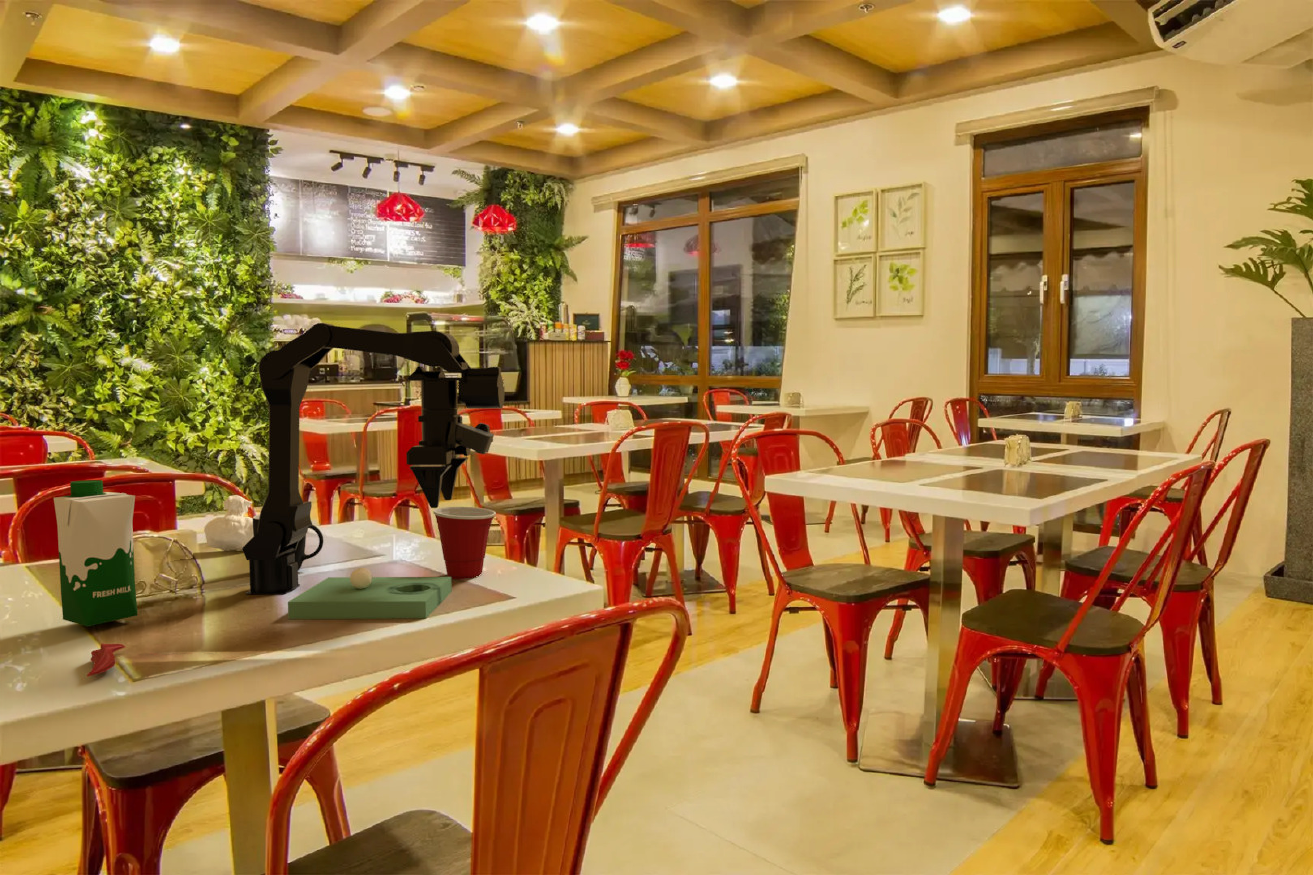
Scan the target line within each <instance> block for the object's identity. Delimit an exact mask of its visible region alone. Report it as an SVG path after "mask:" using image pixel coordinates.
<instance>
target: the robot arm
mask: <svg viewBox="0 0 1313 875" xmlns="http://www.w3.org/2000/svg"><path fill="white" fill-rule="evenodd" d="M333 349H339V350H340V349H341V350H347V351H348V350H349V351H356V352H365V353H375V354H383V355H389V356H395V357H399V358H403V359H404V360H405V359H406V360H408V361H412V362H414V363H418V364H421V365H425V366H428V367H433V368H441V369H442V370H426V369H425V368H424V367H423V366H417V367H416V368H415V370H414V371H413V372H412V373H411V374H410V375H408V376H407V380H408V381H409V382H410V381H411V382H420V400H421V401H420V402H421V403H420V404H421V414H420V415H418V418H417V420H418V423H421V440H419V441H418V444H417V445H415V446H411V448H409V450H408V451H407V452H406V454H405V455H406V465H409V469H410V470H411V471H412V474H413V475H414V477H415V479H416V481H417V482H418V485H419V486H420V489H421V491H422V493H423V494H424V497H425V499H426V501H427V503H428V505H429V507H430V509H437V508H439V504H440V496H441V494H442V496H443V499H444V501H451V500H452V498H453V495H454V490H455V486H456V481H457V477H458V472H459V469H460V467H461V466H462V465H463V464H465V463H466V462H467V461H468V459H469V457H468V456H471V450H472V451H474V452H475V453H478V454H480V455H485V454H487V453H489V451H490V448H491V445H492V443H493V442H494V436H495V435H494V433H492V432H491V430H490V425H489V424H486V423H483V422H479V423H478V424H477V425H475V427H474V426H472V425H468V424H465V423H463V416H461V414H458V413H459V412H458V411H459V410H458V400H459V402H460V403H462V404H463V403H464V404H465V407H466V408H467V409H468V410H471V409H477V410H479V409H481V410H482V409H503V407H504V403H505V386H504V383H503V377H502V376H503V375H502V368H501V367H500V366H489V367H485V368H484V367H479V368H478V367H473V368H472V367H471V365H469V364H468V362H467V361H466V359H465V358H464V357H463V356H462V355H461V353H460V346H459V342H458V341H457V339H456V338H455V336H453V335H451V334H450V333H447V332H442V331H437V330H424V331H423V330H421V331H411V332H400V333H398V332H397V333H395V332H389V331H380V330H370V329H364V328H354V327H353V328H352V327H348V326H347V327H345V326H339V325H338V326H337V325H334V324H330V323H325V322H317V323H316V324H313V325H312V326H311V327H310V328H308V330H306V331H305V332H303V333H302V334H300V335H299V336H297V337H296V338H294V339H292V340H291V341H288V342H287V343H285V344H284V345H283V346H282V347H280V348H279V349H276V350H271V351H268V352H266V354H264V356H262V357H261V358H260V360H259V363H258V373H259V379H260V386H261V390H262V392H263V395H264V396H265V400H266V401H267V403H268V417H269V418H268V490H267V495H266V497H265V500H264V502H263V505H262V507H261V509H260V513H259V515H260V517H259V523H258V528H257V534H256V535H255V536H254V537H253V538H252V539H251V540H250V541H249V542H248V543H247V544H246V545H245V546H244V547H243V548H242V550H243V551H242V552H243V555H244V557H245V559H246V560H247V561H248V562H249V563H248V564H249V567H248V568H249V590H248V591H247V592H245V596H284V595H287V594H289V593H290V592H292V591H294V590H296V589H297V588H300V587H301V586H300V585H301V584H299V570H298V563H297V562H295V553H289V552H291V551H294V550H296V549H297V546H298V543H299V540H301V539H302V538H303V537H304V536H305V535H306V536H307V534H308V530H309V528H308V526H311V525H313V523H312V520H311V511H312V505H313V504H312V501H310V500H309V501H303V498H302V496H301V493H300V489H299V486H300V482H299V479H300V478H299V476H300V467H299V466H300V410H301V404H302V402H303V399H304V396H305V394H306V392H307V390H308V386H309V380H310V374H311V370H312V369H314V368H315V367H317V365H319V364H320V363H321V362H322V361H323V360H324V358H325V357H326V356H327V355H328V354H329V353H330V352H331V351H332V350H333ZM444 371H446V372H448V373H449V374H450V373H451V374H452V373H453V374H460V375H461V377H446V374H445V372H444ZM458 398H459V399H458ZM462 455H463V457H462Z"/></svg>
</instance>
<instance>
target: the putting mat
mask: <svg viewBox="0 0 1313 875" xmlns="http://www.w3.org/2000/svg"><path fill="white" fill-rule="evenodd" d="M451 593H452V578H451V577H448V576H372V581H371V583H370V585H369V586H368V587H366V588H364V589H357V588H355V587H354V586H353V585H352V584H351V582H350V576H347V577H343V576H342V577H341V576H340V577H339V576H335V577H334V576H333V577H330V576H329V577H327V578H325V579H323V580H322V581H320V582H318V583H317V584H316V585H314V586H312V587H310V588H309V589H307V590H305V591H304V592H302V593H299V595H297V596H295V597H293V598H292V599H290V600H289V601H288V602H287V614H288V615H287V617H288V620H313V619H317V620H320V619H321V620H324V619H325V620H326V619H327V620H330V619H331V620H332V619H333V620H338V619H339V620H340V619H341V620H342V619H345V620H346V619H348V620H349V619H351V620H352V619H353V620H354V619H357V620H359V619H360V620H361V619H362V620H364V619H365V620H367V619H371V620H372V619H375V620H377V619H379V620H380V619H381V620H382V619H427V618H428V617H429V616H430V615H431V614H432V613H433V612H434V611H435V610H436V609H437V607H439V606H440V605H441V603H442V602H444V601H445V600H446V598H447V597H448V596H449V595H450V594H451Z"/></svg>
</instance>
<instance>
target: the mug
mask: <svg viewBox="0 0 1313 875" xmlns="http://www.w3.org/2000/svg"><path fill="white" fill-rule="evenodd" d="M259 517H260V514H256V515H254V516H253V517H252V518H253V534H254V536H255V535H256V534H257V528H258V523H259ZM308 529H310V530H313V532H315V534H316V535H317V536H318V546H317V548H316V550H314V551H313V552H312V553H310V554H306V540H307V539H306V538H307V534H306V535H305V536H304V537H303V538H302V539H301V540H299V543H298V546H297V549H296V550H294V551H291V552H289V553H295V562H297V563H298V571H300V569H301V567H302V565H303V563H304V561H305V560H309V559H312V558H314V557H315V556H317V555H318V554H319V553H320V552H321V550H322V548H323V545H324V536H323V533H322V532H321V531H322V530H320V529H319V528H318V527H317V526H316V525H313V524H312V525H311V526H308Z"/></svg>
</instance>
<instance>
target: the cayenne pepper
mask: <svg viewBox="0 0 1313 875" xmlns="http://www.w3.org/2000/svg"><path fill="white" fill-rule="evenodd" d="M125 648H126V646H125V645H124V644H122V643H103V642H101V643H100V649H95V650H92V651H91V652H90V654H91V657H90V661H91V662H93V666H92V668H91V670H90V671H89V672H88V673H87V675H86V677H90V676H91V677H92V676H94V675H99V674H102V673H105V672H107V671H109V670H111V669H112V668H113V667H114V666H115V665H116V655H115V653H114V652H117V651H119V650H121V649H125Z"/></svg>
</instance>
